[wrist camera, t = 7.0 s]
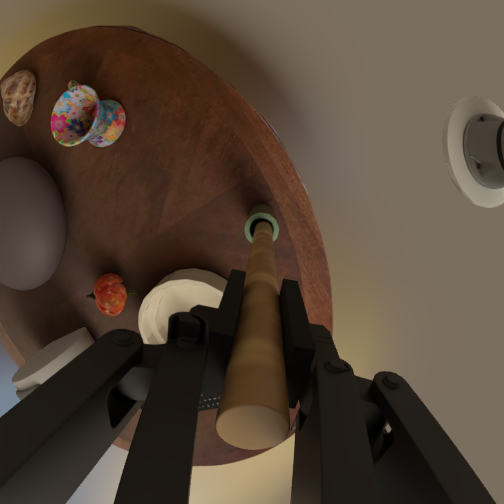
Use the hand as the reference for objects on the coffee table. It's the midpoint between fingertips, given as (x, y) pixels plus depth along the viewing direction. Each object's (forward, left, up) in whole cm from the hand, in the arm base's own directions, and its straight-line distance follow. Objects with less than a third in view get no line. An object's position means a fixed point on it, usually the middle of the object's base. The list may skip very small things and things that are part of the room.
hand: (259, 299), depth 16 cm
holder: (0, 0, -32) cm, 32 cm away
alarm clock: (+35, +35, -32) cm, 59 cm away
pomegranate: (+23, +17, -32) cm, 43 cm away
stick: (0, 0, -21) cm, 21 cm away
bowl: (+8, +19, -32) cm, 38 cm away
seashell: (+53, -18, -32) cm, 65 cm away
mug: (+30, -13, -32) cm, 46 cm away
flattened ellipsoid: (+44, +7, -32) cm, 55 cm away
